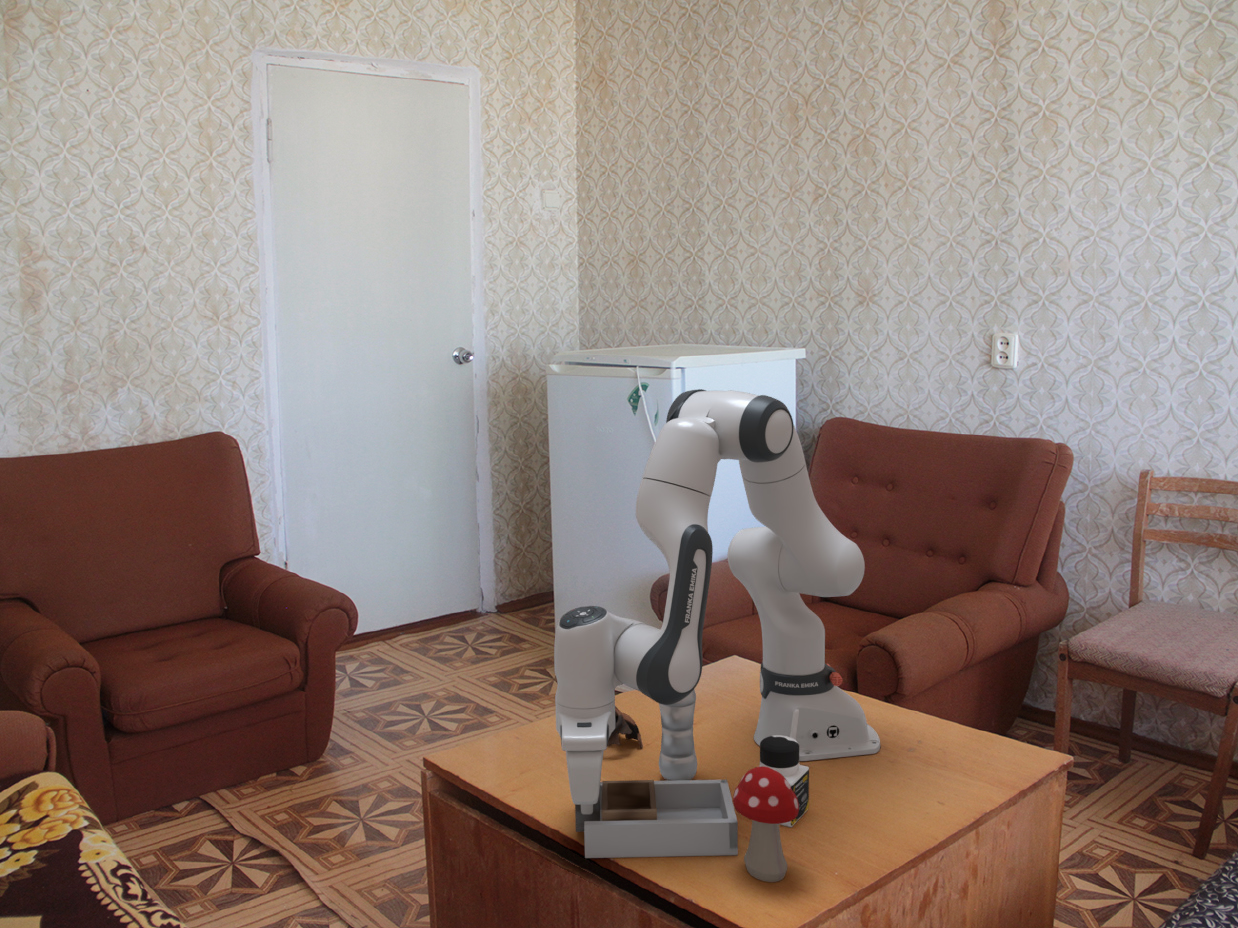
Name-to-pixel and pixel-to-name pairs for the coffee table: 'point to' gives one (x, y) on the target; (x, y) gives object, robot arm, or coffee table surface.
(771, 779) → the decorative mushroom
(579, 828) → the crate
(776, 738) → the medicine bottle
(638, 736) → the broken clay pot
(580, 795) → the robot arm
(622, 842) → the bay
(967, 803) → the coffee table surface
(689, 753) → the plastic bottle
